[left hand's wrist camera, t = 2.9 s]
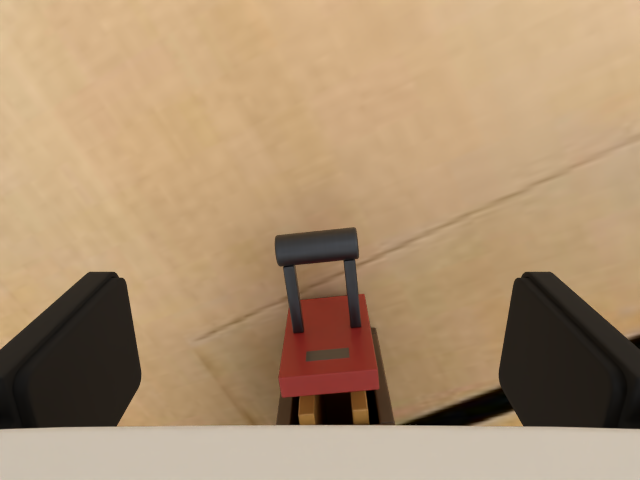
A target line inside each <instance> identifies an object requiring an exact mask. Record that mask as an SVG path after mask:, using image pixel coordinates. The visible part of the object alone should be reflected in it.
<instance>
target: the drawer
mask: <svg viewBox="0 0 640 480" xmlns="http://www.w3.org/2000/svg"><path fill="white" fill-rule="evenodd" d="M275 253H276V259H277V263H278V265H279V266H283V270H284V277H285V283H286V289H287V296H288V302H289V310H288V317H287V324H286V330H285V337H284V344H283V351H282V357H281V364H280V371H279V378H278V379H279V385H280V391H281V396H282V398H285V397H297V396H300V399H299V412H298V417H299V423H300V425H369V414H368V405H367V397H366V390H378V389H379V376H378V367H377V361H376V356H375V350H374V345H373V339H372V333H371V328H370V322H369V317H368V311H367V305H366V300H365V295H364V294H358V284H357V274H356V263H355V259H358V258H359V249H358V239H357V231H356V228H354V227H353V228H343V229H334V230H324V231H314V232H305V233H295V234H285V235H277V236H276V238H275ZM340 260H344V268H345V278H346V288H347V296H337V297H326V298H316V299H306V300H300V295H299V288H298V281H297V274H296V267H295V265H301V264H311V263H321V262H330V261H340Z"/></svg>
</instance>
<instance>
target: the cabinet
mask: <svg viewBox="0 0 640 480" xmlns="http://www.w3.org/2000/svg"><path fill="white" fill-rule="evenodd" d="M371 333H372V339H373V345H374V350H375V356H376V361H377V367H378V376H379V389H378V390H366V397H367V405H368V414H369V425H395V422H394V417H393V412H392V407H391V402H390V397H389V392H388V387H387V382H386V377H385V372H384V367H383V362H382V357H381V352H380V346H379V341H378V336H377V331H376V328H371ZM299 399H300V396H297V397H285V398H282V396H281V392H280V400H279V407H278V415H277V422H276V425H300V423H299V417H298V412H299Z"/></svg>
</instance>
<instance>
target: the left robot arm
mask: <svg viewBox="0 0 640 480" xmlns="http://www.w3.org/2000/svg"><path fill="white" fill-rule="evenodd" d="M140 382H141V367H140V362H139V356H138V350H137V344H136V338H135V332H134V326H133V320H132V314H131V308H130V302H129V296H128V290H127V285H126V281H125V279H123V278H119V277H118V275H117V274H116V273H115V272H89V273H87V274H86V275H85V276H84V277H82V278H81V279H80V280H79V281H78V282H77V283H76V284H74V285H73V286H72V287H71V288H70V289H69V290H68V291H67V292H65V293H64V294H63V295H62V296H61V297H60V298H59V299H57V300H56V301H55V302H54V303H53V304H52V305H51V306H49V307H48V308H47V309H46V310H45V311H44V312H43V313H41V314H40V315H39V316H38V317H37V318H36V319H35V320H34V321H32V322H31V323H30V324H29V325H28V326H27V327H26V328H24V329H23V330H22V331H21V332H20V333H19V334H18V335H16V336H15V337H14V338H13V339H12V340H11V341H10V342H9V343H7V344H6V345H5V346H4V347H3V348H2V349H1V350H0V480H640V350H639V349H638V348H637V347H636V346H635V345H634V344H633V343H631V342H630V341H629V340H628V339H627V338H626V337H625V336H624V335H622V334H621V333H620V332H619V331H618V330H617V329H616V328H614V327H613V326H612V325H611V324H610V323H609V322H608V321H606V320H605V319H604V318H603V317H602V316H601V315H600V314H599V313H597V312H596V311H595V310H594V309H593V308H592V307H591V306H589V305H588V304H587V303H586V302H585V301H584V300H583V299H581V298H580V297H579V296H578V295H577V294H576V293H575V292H573V291H572V290H571V289H570V288H569V287H568V286H567V285H566V284H564V283H563V282H562V281H561V280H560V279H559V278H558V277H556V276H555V275H554V274H553V273H551V272H525V273H524V274H523V275H522V277H521V278H517V279H515V281H514V285H513V290H512V296H511V302H510V308H509V314H508V320H507V326H506V332H505V338H504V344H503V350H502V356H501V362H500V367H499V382H500V385H501V387H502V389H503V391H504V393H505V395H506V396H507V398H508V400H509V402H510V403H511V405H512V407H513V409H514V410H515V412H516V414H517V416H518V417H519V419H520V421H521V423H522V424H523V426H524V427H517V426H404V425H218V426H128V427H116V426H117V424H118V423H119V421H120V419H121V417H122V416H123V414H124V412H125V410H126V409H127V407H128V405H129V403H130V402H131V400H132V398H133V396H134V395H135V393H136V391H137V389H138V387H139V385H140Z"/></svg>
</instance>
